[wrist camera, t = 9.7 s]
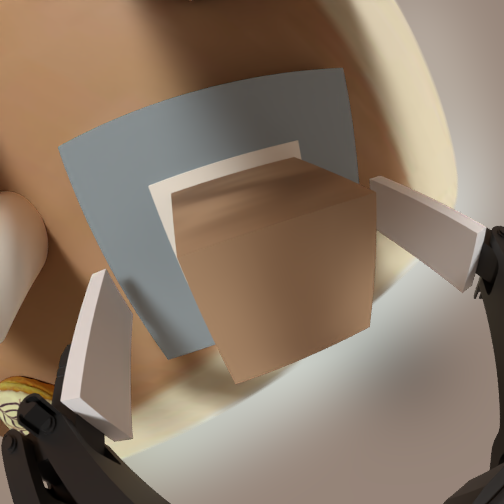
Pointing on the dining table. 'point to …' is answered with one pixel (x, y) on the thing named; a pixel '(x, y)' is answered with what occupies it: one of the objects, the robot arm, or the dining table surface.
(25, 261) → the marshmallow
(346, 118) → the slate board
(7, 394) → the decorated donut
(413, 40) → the dining table surface
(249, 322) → the walnut cube
